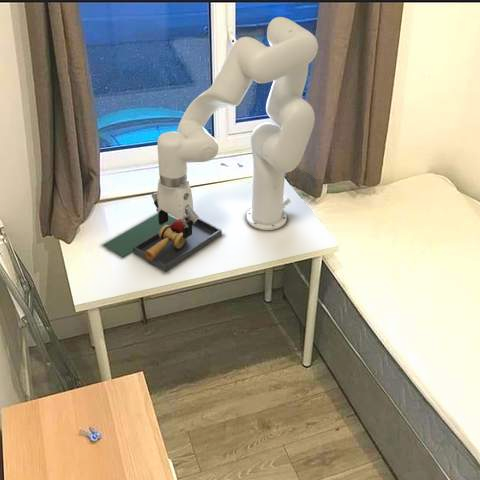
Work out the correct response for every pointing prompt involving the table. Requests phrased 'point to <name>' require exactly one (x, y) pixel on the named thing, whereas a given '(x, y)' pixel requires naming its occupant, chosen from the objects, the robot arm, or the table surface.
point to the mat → (136, 235)
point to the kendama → (167, 239)
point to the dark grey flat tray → (173, 256)
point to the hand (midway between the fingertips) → (175, 229)
